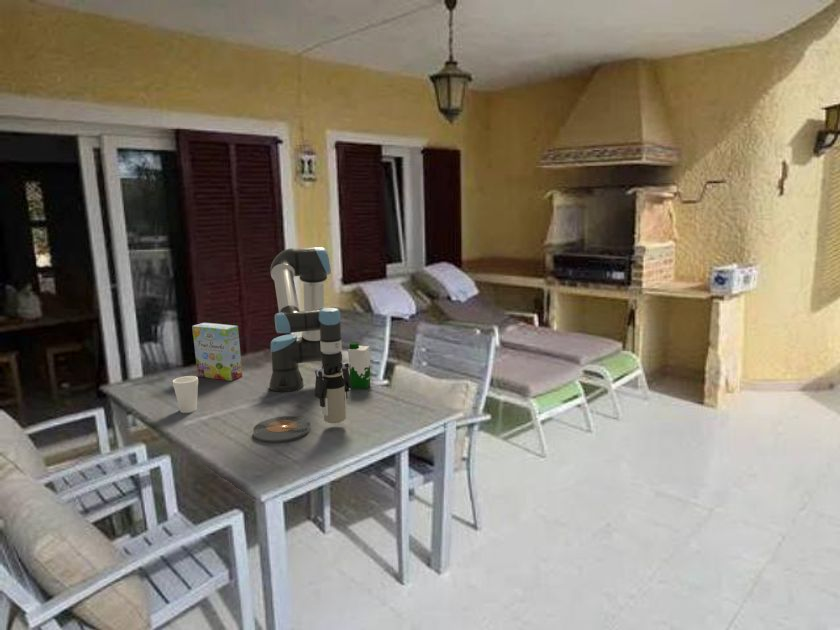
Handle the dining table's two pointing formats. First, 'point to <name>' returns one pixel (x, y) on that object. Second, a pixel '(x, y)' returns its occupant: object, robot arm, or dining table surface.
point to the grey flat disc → (281, 429)
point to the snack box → (217, 351)
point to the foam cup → (186, 393)
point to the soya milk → (359, 366)
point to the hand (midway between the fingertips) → (334, 411)
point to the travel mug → (335, 398)
